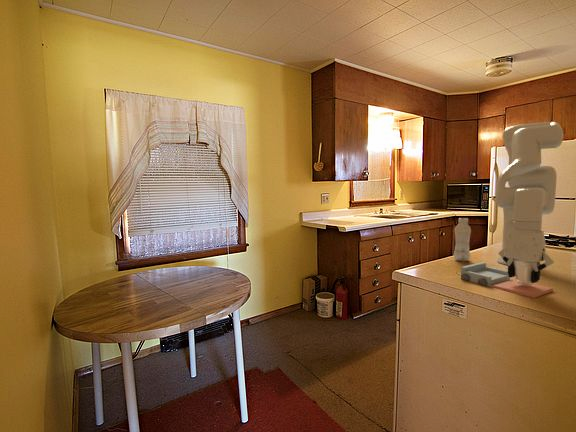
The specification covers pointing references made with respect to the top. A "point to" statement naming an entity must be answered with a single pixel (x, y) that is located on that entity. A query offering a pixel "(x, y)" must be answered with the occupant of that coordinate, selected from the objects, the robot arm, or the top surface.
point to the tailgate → (523, 288)
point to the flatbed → (483, 274)
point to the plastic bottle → (462, 240)
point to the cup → (523, 272)
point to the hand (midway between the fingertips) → (522, 278)
